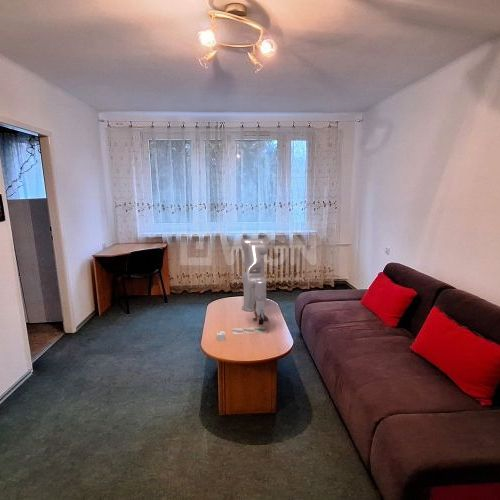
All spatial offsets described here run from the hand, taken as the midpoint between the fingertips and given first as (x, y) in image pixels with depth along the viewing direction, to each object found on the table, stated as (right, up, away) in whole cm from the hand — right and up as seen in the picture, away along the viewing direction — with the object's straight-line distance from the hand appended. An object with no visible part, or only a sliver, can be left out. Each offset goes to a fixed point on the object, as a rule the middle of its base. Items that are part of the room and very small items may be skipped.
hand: (260, 322), depth 223 cm
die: (-26, -9, -12) cm, 30 cm away
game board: (-8, -6, 0) cm, 10 cm away
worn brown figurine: (+1, -3, +18) cm, 19 cm away
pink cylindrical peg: (0, -2, 0) cm, 2 cm away
